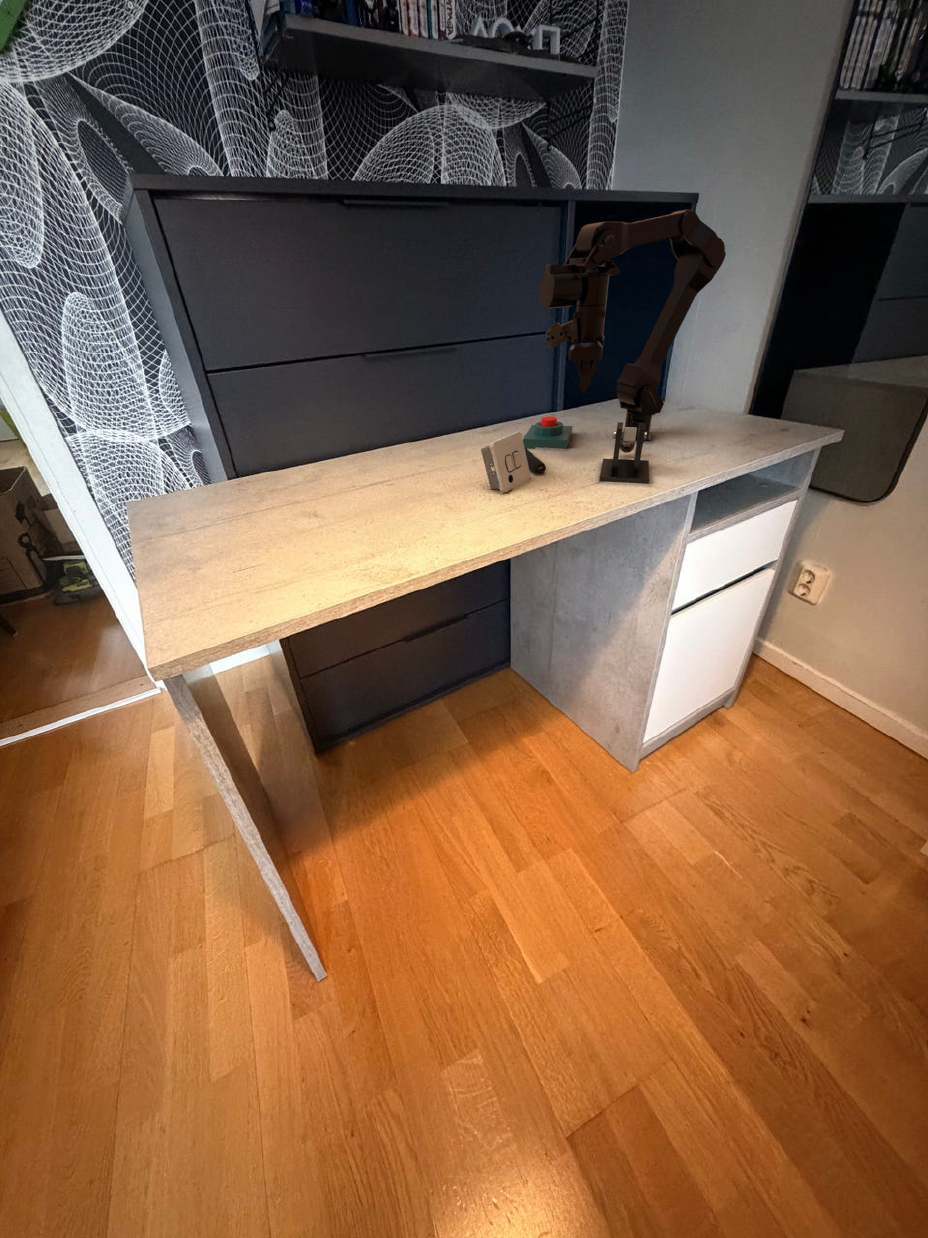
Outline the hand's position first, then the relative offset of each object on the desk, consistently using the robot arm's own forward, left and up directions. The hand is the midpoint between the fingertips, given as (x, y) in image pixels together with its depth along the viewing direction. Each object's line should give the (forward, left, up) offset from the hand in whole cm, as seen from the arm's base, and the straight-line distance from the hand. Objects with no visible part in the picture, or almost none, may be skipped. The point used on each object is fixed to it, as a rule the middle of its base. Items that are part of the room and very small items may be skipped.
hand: (583, 391), depth 105 cm
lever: (+11, +10, -8) cm, 17 cm away
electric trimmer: (+12, -10, -12) cm, 20 cm away
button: (-5, -8, -9) cm, 12 cm away
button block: (-5, -8, -12) cm, 15 cm away
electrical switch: (+24, -12, -12) cm, 30 cm away
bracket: (+15, +10, -12) cm, 22 cm away
